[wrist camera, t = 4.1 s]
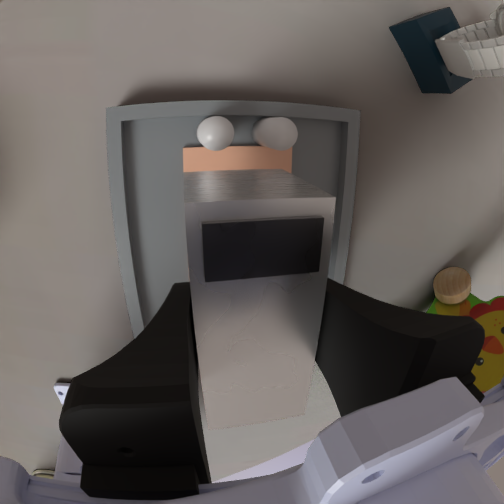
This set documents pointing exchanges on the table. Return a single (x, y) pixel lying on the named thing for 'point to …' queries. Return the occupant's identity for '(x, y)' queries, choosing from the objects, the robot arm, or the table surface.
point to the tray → (212, 159)
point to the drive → (256, 289)
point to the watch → (451, 49)
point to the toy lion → (485, 313)
